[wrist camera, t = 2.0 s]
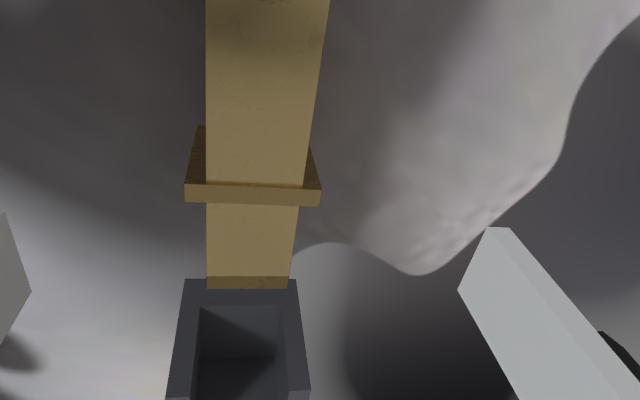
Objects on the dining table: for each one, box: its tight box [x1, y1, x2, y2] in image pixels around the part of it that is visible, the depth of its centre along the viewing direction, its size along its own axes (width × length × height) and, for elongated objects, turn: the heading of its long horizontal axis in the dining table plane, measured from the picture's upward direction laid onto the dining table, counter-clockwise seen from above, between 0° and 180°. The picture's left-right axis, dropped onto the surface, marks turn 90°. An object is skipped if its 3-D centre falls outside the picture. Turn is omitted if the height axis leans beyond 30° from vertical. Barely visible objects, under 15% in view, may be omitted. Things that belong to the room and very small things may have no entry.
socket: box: [165, 279, 311, 400], centre depth 34 cm, size 10×8×10 cm
